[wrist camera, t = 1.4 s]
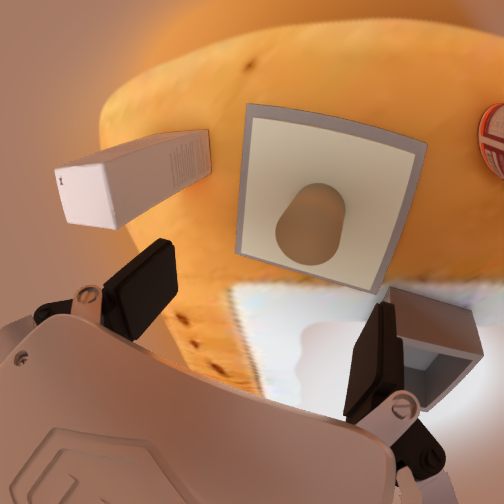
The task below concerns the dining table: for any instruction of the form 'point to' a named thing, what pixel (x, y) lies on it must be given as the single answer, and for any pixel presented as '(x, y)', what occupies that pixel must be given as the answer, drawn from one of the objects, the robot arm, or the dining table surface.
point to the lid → (322, 199)
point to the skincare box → (131, 177)
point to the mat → (345, 127)
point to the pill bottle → (493, 139)
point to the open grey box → (434, 345)
